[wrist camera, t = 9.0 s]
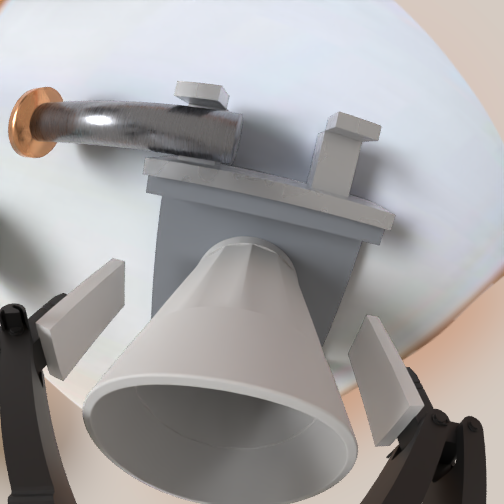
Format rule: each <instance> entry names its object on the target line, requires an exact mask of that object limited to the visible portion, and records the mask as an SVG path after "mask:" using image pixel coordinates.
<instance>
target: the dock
mask: <svg viewBox="0 0 504 504" xmlns="http://www.w3.org/2000/svg"><path fill="white" fill-rule="evenodd" d="M146 193H151V194H156V195H161V196H162V200H161V207H160V215H159V223H158V232H157V242H156V252H155V264H154V277H153V292H152V312H151V319H152V318H153V317H154V316H155V314H156V313H157V312H158V311H159V310H160V308H161V307H162V306H163V305H164V304H165V302H166V301H167V300H168V299H169V298H170V297H171V295H172V294H173V293H174V292H175V291H176V290H177V288H178V287H179V286H180V285H181V284H182V283H183V281H184V280H185V279H186V278H187V277H188V276H189V274H190V273H191V272H192V271H193V270H194V269H195V268H196V266H197V265H198V264H199V262H200V260H201V259H202V257H203V256H204V255H205V253H206V252H207V251H208V250H209V249H210V248H212V247H213V246H214V245H216V244H217V243H219V242H221V241H223V240H226V239H229V238H233V237H240V236H249V237H256V238H260V239H263V240H266V241H268V242H270V243H272V244H274V245H276V246H277V247H278V248H280V249H281V250H282V251H283V252H284V253H285V254H286V255H287V256H288V257H289V259H290V260H291V262H292V264H293V266H294V268H295V270H296V274H297V278H298V283H299V287H300V289H301V292H302V295H303V297H304V300H305V303H306V305H307V308H308V311H309V314H310V316H311V319H312V322H313V325H314V327H315V330H316V333H317V336H318V338H319V341H320V344H321V347H322V346H323V344H324V342H325V339H326V337H327V334H328V332H329V330H330V327H331V325H332V322H333V320H334V318H335V315H336V313H337V310H338V307H339V305H340V302H341V300H342V297H343V294H344V292H345V289H346V286H347V284H348V281H349V278H350V275H351V273H352V270H353V267H354V264H355V261H356V258H357V255H358V252H359V249H360V246H361V243H362V241H365V242H368V243H372V244H376V245H380V242H381V239H382V236H383V233H384V230H385V229H383V228H380V227H376V226H373V225H369V224H366V223H362V222H359V221H355V220H351V219H348V218H344V217H340V216H336V215H333V214H329V213H325V212H321V211H317V210H313V209H309V208H305V207H301V206H297V205H293V204H289V203H285V202H280V201H276V200H272V199H267V198H263V197H259V196H254V195H249V194H245V193H240V192H236V191H231V190H226V189H221V188H216V187H211V186H206V185H201V184H196V183H190V182H185V181H179V180H174V179H168V178H162V177H156V176H150V175H148V182H147V189H146Z"/></svg>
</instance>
